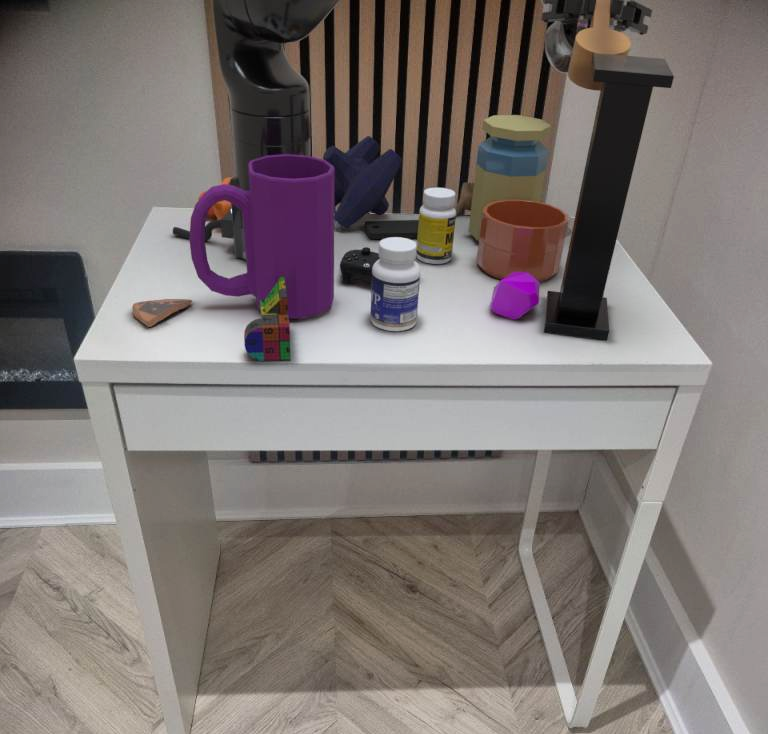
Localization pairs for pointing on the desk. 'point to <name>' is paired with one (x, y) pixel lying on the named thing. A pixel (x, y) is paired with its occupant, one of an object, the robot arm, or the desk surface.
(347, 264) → the game controller
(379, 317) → the pill bottle
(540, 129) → the jar
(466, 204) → the brown paper bag
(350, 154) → the tetrapod
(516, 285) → the crystal
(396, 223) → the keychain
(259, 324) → the puzzle-patterned holder
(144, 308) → the pottery shard
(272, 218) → the mug
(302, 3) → the robot arm
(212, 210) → the orange fox figurine
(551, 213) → the bowl
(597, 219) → the shelf stand
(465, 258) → the desk surface
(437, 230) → the supplement bottle
